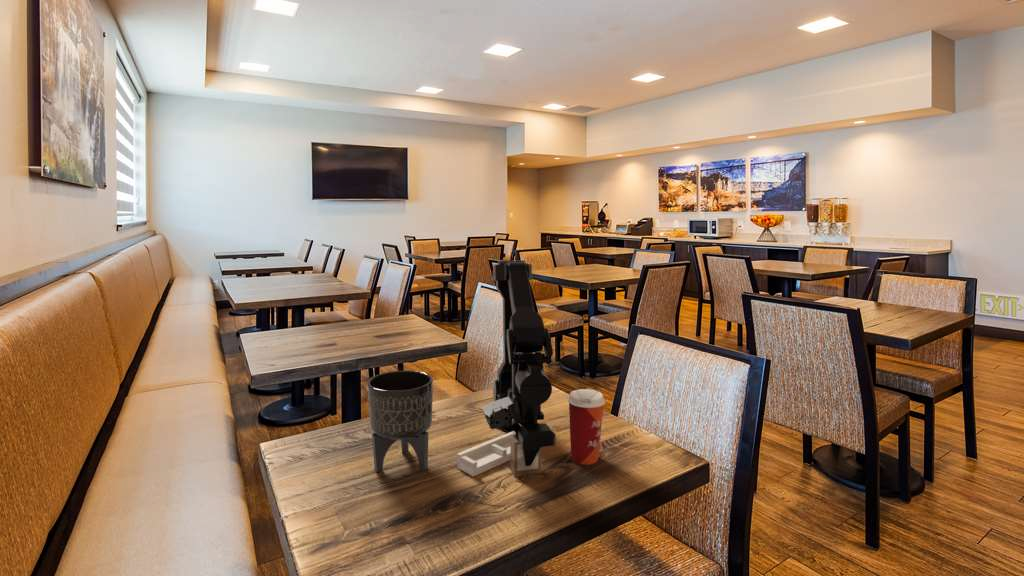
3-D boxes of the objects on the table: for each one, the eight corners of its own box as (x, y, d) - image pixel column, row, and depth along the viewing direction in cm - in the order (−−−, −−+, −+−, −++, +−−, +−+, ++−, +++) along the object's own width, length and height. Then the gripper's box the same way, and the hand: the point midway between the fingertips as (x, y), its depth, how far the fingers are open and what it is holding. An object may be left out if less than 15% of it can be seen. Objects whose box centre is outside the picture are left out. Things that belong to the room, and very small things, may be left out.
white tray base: (457, 467, 109) (456, 453, 108) (517, 442, 120) (517, 429, 120) (473, 476, 105) (473, 462, 105) (533, 449, 117) (533, 436, 116)
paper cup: (602, 469, 108) (604, 402, 106) (564, 465, 110) (565, 399, 108) (603, 451, 116) (606, 389, 114) (568, 448, 118) (569, 386, 115)
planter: (446, 456, 113) (445, 375, 111) (410, 485, 102) (407, 395, 99) (396, 444, 119) (394, 367, 116) (356, 470, 107) (352, 385, 104)
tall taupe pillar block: (514, 476, 105) (514, 442, 104) (510, 469, 108) (510, 436, 107) (541, 473, 107) (541, 439, 106) (536, 465, 110) (537, 433, 108)
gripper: (476, 374, 112) (477, 445, 114) (496, 407, 94) (496, 490, 96) (528, 370, 114) (527, 440, 117) (557, 401, 96) (555, 483, 99)
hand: (525, 461), depth 107 cm, fingers closed on tall taupe pillar block, 3 cm apart
